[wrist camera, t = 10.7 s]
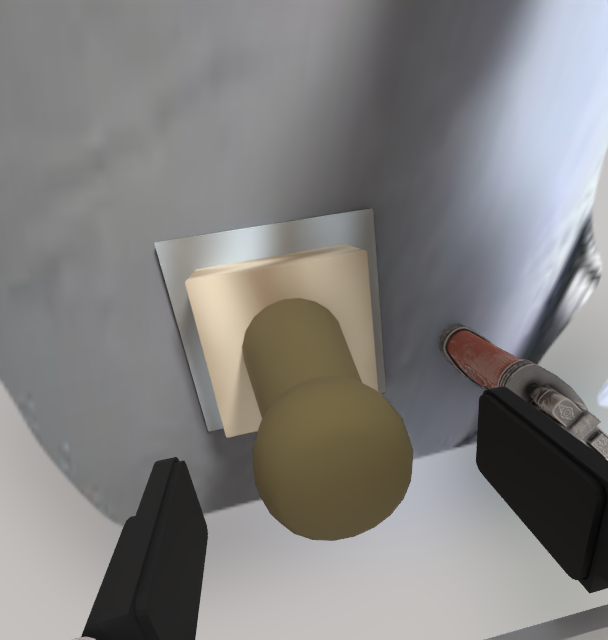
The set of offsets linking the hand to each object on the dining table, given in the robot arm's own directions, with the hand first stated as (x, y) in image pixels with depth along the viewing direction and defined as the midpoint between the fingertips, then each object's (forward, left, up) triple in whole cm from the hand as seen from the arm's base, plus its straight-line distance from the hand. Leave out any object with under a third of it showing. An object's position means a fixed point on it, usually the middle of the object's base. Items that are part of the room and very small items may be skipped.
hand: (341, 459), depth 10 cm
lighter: (-15, +6, -15) cm, 22 cm away
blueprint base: (0, 0, -15) cm, 15 cm away
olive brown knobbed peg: (0, 0, -10) cm, 10 cm away
